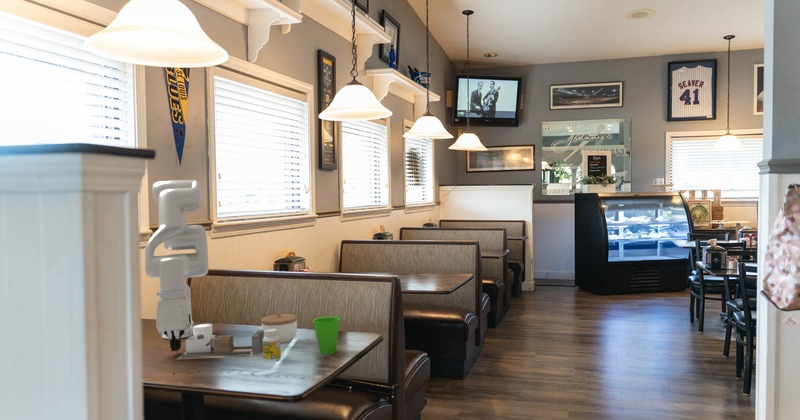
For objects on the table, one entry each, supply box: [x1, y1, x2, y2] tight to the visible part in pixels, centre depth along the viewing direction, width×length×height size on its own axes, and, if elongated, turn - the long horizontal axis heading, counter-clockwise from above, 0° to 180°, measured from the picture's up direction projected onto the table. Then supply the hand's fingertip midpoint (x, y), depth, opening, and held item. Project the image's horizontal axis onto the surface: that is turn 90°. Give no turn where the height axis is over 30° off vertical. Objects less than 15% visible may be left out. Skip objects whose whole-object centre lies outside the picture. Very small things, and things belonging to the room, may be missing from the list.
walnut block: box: [213, 334, 235, 353], centre depth 184 cm, size 5×5×5 cm
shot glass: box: [192, 323, 213, 336], centre depth 200 cm, size 7×7×7 cm
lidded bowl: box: [260, 311, 298, 344], centre depth 198 cm, size 13×13×11 cm
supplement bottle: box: [262, 329, 282, 362], centre depth 177 cm, size 5×5×10 cm
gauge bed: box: [176, 329, 264, 360], centre depth 184 cm, size 12×26×7 cm, turn 90°
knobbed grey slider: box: [185, 334, 216, 354], centre depth 183 cm, size 7×8×6 cm
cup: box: [312, 315, 341, 356], centre depth 183 cm, size 9×9×11 cm
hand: (175, 350), depth 184 cm, fingers closed
